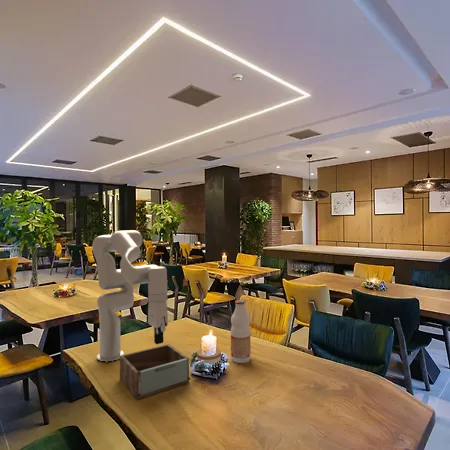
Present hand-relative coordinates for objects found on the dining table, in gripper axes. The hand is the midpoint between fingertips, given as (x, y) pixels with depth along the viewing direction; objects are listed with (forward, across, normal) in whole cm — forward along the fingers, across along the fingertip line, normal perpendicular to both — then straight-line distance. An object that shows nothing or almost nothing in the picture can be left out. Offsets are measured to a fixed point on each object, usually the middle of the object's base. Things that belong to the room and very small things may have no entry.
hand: (158, 342), depth 130 cm
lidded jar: (+18, -1, +24) cm, 30 cm away
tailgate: (+15, +5, 0) cm, 16 cm away
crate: (+17, -5, 0) cm, 18 cm away
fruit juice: (+18, -1, +42) cm, 45 cm away
